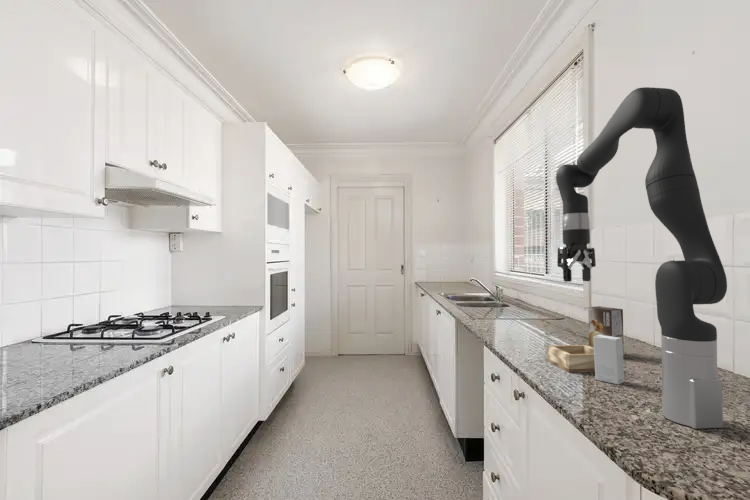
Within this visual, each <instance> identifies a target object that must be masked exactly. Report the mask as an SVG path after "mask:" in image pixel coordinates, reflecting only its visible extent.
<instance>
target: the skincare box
mask: <svg viewBox="0 0 750 500" xmlns="http://www.w3.org/2000/svg"><path fill="white" fill-rule="evenodd" d="M593 339H594V359H595V372H594V375H595V380H596V381H600V382H605V383H610V384H615V385H621V384H623V383H624V382H625V376H624V375H625V373H624V372H625V371H624V356H623V346H622V338H620V337H613V336H605V335H597V336H594V337H593Z"/></svg>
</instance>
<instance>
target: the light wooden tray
mask: <svg viewBox="0 0 750 500" xmlns="http://www.w3.org/2000/svg"><path fill="white" fill-rule="evenodd" d="M546 362H548V363H550V364H552V365H554V366H556V367H558V368H559V369H561V370H563V371H565V372H567V373H595V359H594V348H593V347H590V346H589V345H587V344H562V345H559V344H555V345H553V344H552V345H551V344H550V345H546Z"/></svg>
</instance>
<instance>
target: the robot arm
mask: <svg viewBox="0 0 750 500" xmlns="http://www.w3.org/2000/svg"><path fill="white" fill-rule="evenodd" d="M685 121H686V120H685V113H684V104H683V100H682V98H681V95H680V94H679V93H678V92H677V91H676V90H675V89H671V88H666V87H665V88H663V87H649V86H648V87H647V86H645V87H644V86H643V87H637V88H635V89H634V90H633V89H632V91H631V92H630V93H628V94H627V95H626V97H625V98H624V99H623V100H622V101H621V103H620V104H619V106H618V107H617V109H616V110H615V112H614V113H613V114H612V115H611V117H610V119H608V121H607V123H606V125H605V126H604V127H603V128H602V130H601V132H600V134H599V135H598V136H597V137H595V139H594V141H593V142H592V143H590V145H588V146H587V148H585V149H584V150H583V151H582V152H581V153H580V154H579V156H578V157H577V160H576V164H563V165H561V166H559V167H558V169H557V171H556V174H555V181H556V185H557V188H558V191H559V194H560V198H561V201H562V224H561V225H562V244H564V245H565V246H559V247H557V263H556V264H557V267H558V268H561V270H562V279H563V281H564V282H570V283H571V282H572V266H573V265H574V264H576V262H577V263H578V264H580V267H581V268H582V269H581V272H582V273H581V274H582V278H581V279H582V281H583V282H590V281H591V277H592V276H591V270H592V268H596V266H597V264H596V249H595V247H588V245H589V244H591V243H590V242H591V235H590V234H591V232H590V231H591V229H590V227H591V225H590V223H591V222H590V216H589V198H588V196H587V195H584V194H581V193H579V192H577V191H576V189H575V188H577V189H579V188H586V187H588V186H589V187H590V185H592V183H593V182H594V181H595V179H596V177H597V175H598V174H599V171H600V170H602V169H603V168H604V167H605V166H606V165H608V164H609V163H610V162H611V161H612V160H613V158H615V156H616V154H617V152H618V149H619V146H620V145H619V143H620V139H621V137H622V136H623V135H624V134H626V133H628V132H629V131H630V130H632V129H633V128H634V129H649V130H652V131H653V134H654V137H655V143H656V151H655V152H656V153H655V155H654V158H653V160H652V162H651V164H650V165H649V168H648V171H647V173H646V174H645V175H646V176H645V181H644V183H645V184H644V186H645V189H646V196H647V200H648V204H649V207H650V210H651V211H652V213H653V214H654V217H656V218H657V219H658V220H659V222H660V223H661V224H662V225H663V226H664V227H665V228H666V229H667V230H668V231H669V232H670V234H672V235H673V237H674V238H675V239H676V241H677V243H678V244H679V247H680V249H681V252H682V255H683V260H670V261H669V260H668V261H666V262H663V263H662V264H660V266H659V268H658V269H657V271H656V274H655V280H654V281H655V283H654V284H655V287H654V288H655V289H654V290H655V299H656V313H657V319H658V323H659V325H660V330H661V331H660V333H661V334H660V335H661V336H660V338H661V395H662V396H661V398H662V403H661V404H662V407H661V408H662V410H661V411H662V413H661V414H662V415H663V417H664V418H665V419H668V420H669V421H672V422H674V423H677V424H680V425H684V426H687V427H691V428H693V429H717V428H718V429H719V428H724V417H723V416H724V413H723V412H724V408H723V405H724V404H723V402H724V401H723V380H722V379H721V378H718V331H717V327H716V326H715V325H714V324H712V323H710V322H707V321H704V320H701V319H700V318H698V317H697V316H696V314H695V310H694V305H714V304H718V303H720V302H721V301H722V300H723V299H724V298H725V296H726V294H727V290H728V281H727V275H726V271H725V268H724V266H723V263H722V261H721V257H720V255H719V253H718V251H717V247H716V245H715V243H714V240H713V236H712V234H711V231H710V229H709V225H708V222H707V221H708V220H707V217H706V214H705V212H704V208H703V207H704V206H703V203H702V199H701V194H700V193H701V192H700V189H699V184H698V181H697V177H696V174H695V170H694V166H693V164H692V163H693V162H692V158H691V154H690V148H689V144H688V139H687V132H686V123H685Z"/></svg>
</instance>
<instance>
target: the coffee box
mask: <svg viewBox="0 0 750 500" xmlns="http://www.w3.org/2000/svg"><path fill="white" fill-rule="evenodd" d="M587 311H588V312H587V314H588V318H587V319H588V346H590V347H593V348H594V339H593V337H594V336H597V335H605V336H613V337H620V338H622V346H623V357H624V356H625V352H624V351H625V350H624V349H625V347H624V342H625V341H624V309H623V308H614V307H608V306H607V307H606V306H600V305H599V306H591V307H588V308H587Z"/></svg>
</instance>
